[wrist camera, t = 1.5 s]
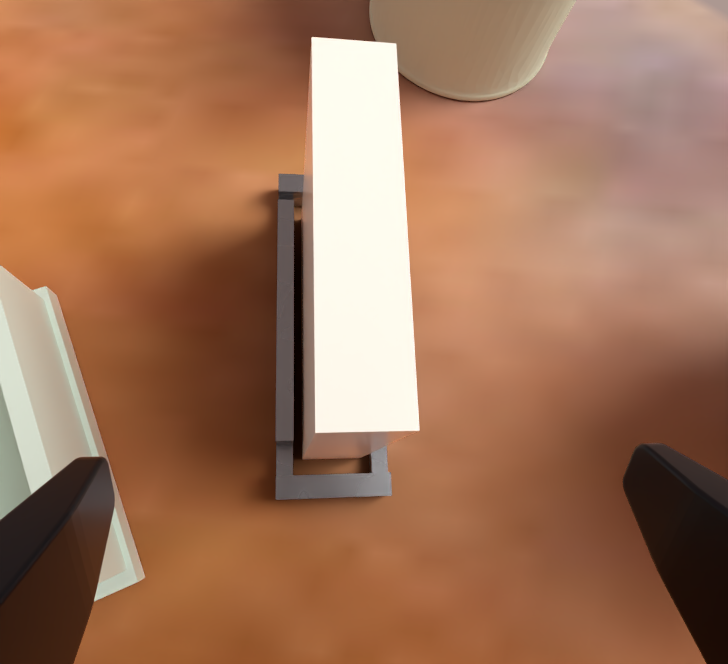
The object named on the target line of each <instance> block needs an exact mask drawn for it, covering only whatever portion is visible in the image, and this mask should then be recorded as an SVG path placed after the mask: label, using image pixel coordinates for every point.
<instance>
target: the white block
mask: <svg viewBox="0 0 728 664" xmlns="http://www.w3.org/2000/svg"><path fill="white" fill-rule="evenodd" d="M301 258H302V460H308V459H346V458H361V457H363V456H366V455H368V454H370V453H372V452H374V451H376V450H379V449H381V448H383V447H385V446H387V445H389V444H392V443H394V442H396V441H398V440H400V439H403V438H405V437H407V436H409V435H411V434H413V433H416V432H418V431H420V430H419V413H418V397H417V380H416V364H415V347H414V330H413V314H412V297H411V281H410V264H409V247H408V231H407V214H406V197H405V181H404V164H403V148H402V131H401V114H400V98H399V81H398V65H397V48H396V43H383V42H371V41H358V40H345V39H332V38H319V37H312V39H311V57H310V75H309V93H308V110H307V128H306V146H305V164H304V182H303V200H302V218H301Z"/></svg>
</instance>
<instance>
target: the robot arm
mask: <svg viewBox="0 0 728 664" xmlns="http://www.w3.org/2000/svg"><path fill="white" fill-rule="evenodd" d="M623 488H624V491H625V494H626V497H627V499H628V501H629V504H630V506H631V509H632V511H633V514H634V516H635V518H636V521H637V523H638V526H639V528H640V530H641V533H642V535H643V538H644V540H645V543H646V545H647V547H648V550H649V552H650V555H651V557H652V559H653V562H654V564H655V566H656V568H657V570H658V572H659V574H660V576H661V578H662V580H663V582H664V584H665V586H666V588H667V590H668V592H669V594H670V596H671V598H672V599H673V601H674V603H675V605H676V607H677V609H678V611H679V613H680V615H681V616H682V618H683V620H684V622H685V624H686V626H687V628H688V630H689V632H690V633H691V635H692V637H693V639H694V641H695V643H696V645H697V647H698V648H699V650H700V652H701V654H702V656H703V658H704V660H705V662H706V664H728V480H727V479H726V478H724V477H722V476H720V475H718V474H717V473H715V472H713V471H711V470H710V469H708V468H706V467H704V466H702V465H701V464H699V463H697V462H695V461H693V460H692V459H690V458H688V457H686V456H685V455H683V454H681V453H679V452H677V451H676V450H674V449H672V448H670V447H668V446H667V445H665V444H662V443H642V444H639V445H638V446H637V447H636V448H635V449H634V452H633V454H632V457H631V459H630V462H629V464H628V467H627V469H626V471H625V474H624V477H623ZM114 506H115V494H114V489H113V484H112V479H111V474H110V469H109V464H108V462H107V460H106V458H104V457H101V456H96V457H78V458H76V459H74V460H73V461H72V462H71V463H69V464H68V465H67V466H66V467H64V468H63V469H62V470H61V471H59V472H58V473H57V474H56V475H55V476H53V477H52V478H51V479H50V480H48V481H47V482H46V483H45V484H43V485H42V486H41V487H40V488H39V489H37V490H36V491H35V492H34V493H32V494H31V495H30V496H29V497H28V498H26V499H25V500H24V501H23V502H21V503H20V504H19V505H18V506H16V507H15V508H14V509H13V510H12V511H10V512H9V513H8V514H7V515H5V516H4V517H3V518H2V519H0V664H74V661H75V658H76V655H77V652H78V649H79V646H80V643H81V640H82V637H83V634H84V631H85V628H86V625H87V622H88V619H89V616H90V613H91V610H92V606H93V603H94V599H95V595H96V590H97V586H98V582H99V577H100V572H101V568H102V563H103V558H104V554H105V549H106V544H107V540H108V535H109V530H110V526H111V521H112V517H113V512H114Z"/></svg>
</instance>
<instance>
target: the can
mask: <svg viewBox="0 0 728 664" xmlns="http://www.w3.org/2000/svg"><path fill="white" fill-rule="evenodd" d="M575 2H576V0H370V5H369V17H370V24H371V29H372V32H373V35H374V38H375V40H376V42H383V43H396V48H397V65H398V72H400V73H401V74H402V75H403V76H405V77H406V78H407V79H408V80H410V81H411V82H413V83H415V84H416V85H418V86H420V87H422V88H424V89H425V90H427V91H430V92H432V93H435V94H437V95H441V96H444V97H447V98H452V99H456V100H464V101H484V100H492V99H497V98H501V97H504V96H506V95H509V94H511V93H513V92H515V91H517V90H519V89H520V88H522V87H523V86H525V85H526V84H527V83H528V82H529V81H531V80H532V79H533V78H534V77H535V75H536V74H537V73H538V72H539V70H540V69H541V67H542V65H543V63H544V61H545V59H546V56H547V53H548V50H549V48H550V46H551V44H552V42H553V40H554V38H555V36H556V35H557V33H558V31H559V29H560V28H561V26H562V24H563V23H564V21H565V19H566V17H567V16H568V14H569V12H570V10H571V9H572V7H573V5H574V4H575Z"/></svg>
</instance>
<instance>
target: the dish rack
mask: <svg viewBox="0 0 728 664" xmlns="http://www.w3.org/2000/svg"><path fill="white" fill-rule="evenodd" d="M96 456H101V457H104V458H106V460H107V462H108V464H109V469H110V474H111V479H112V484H113V489H114V494H115V506H114V512H113V517H112V521H111V526H110V530H109V535H108V540H107V544H106V549H105V554H104V558H103V563H102V568H101V572H100V577H99V582H98V586H97V590H96V595H95V599H94V601H96V600H99V599H101V598H103V597H105V596H108V595H110V594H112V593H114V592H117V591H119V590H121V589H123V588H126V587H128V586H130V585H132V584H135V583H137V582H139V581H140V580H142V579H144V578H145V575H144V571H143V568H142V565H141V562H140V559H139V556H138V552H137V549H136V546H135V543H134V540H133V536H132V533H131V530H130V527H129V524H128V521H127V517H126V514H125V511H124V508H123V505H122V501H121V498H120V495H119V492H118V489H117V486H116V482H115V479H114V476H113V473H112V470H111V466H110V463H109V460H108V457H107V454H106V451H105V447H104V444H103V441H102V438H101V435H100V431H99V428H98V425H97V422H96V419H95V415H94V412H93V409H92V406H91V403H90V400H89V396H88V393H87V390H86V387H85V384H84V380H83V377H82V374H81V371H80V368H79V365H78V361H77V358H76V355H75V352H74V349H73V345H72V342H71V339H70V336H69V333H68V330H67V326H66V323H65V320H64V317H63V314H62V310H61V307H60V304H59V301H58V298H57V295H56V294H55V293H54V292H52V291H51V290H50V289H49V288H48V287H47V286H45V287H41V288H38V289H35V290H31V289H30V288H28V287H27V286H26V285H25V284H23V283H22V282H21V281H20V280H18V279H17V278H16V277H15V276H13V275H12V274H11V273H10V272H8V271H7V270H6V269H4V268H3V267H2V266H1V265H0V519H2V518H3V517H4V516H5V515H7V514H8V513H9V512H10V511H12V510H13V509H14V508H15V507H16V506H18V505H19V504H20V503H21V502H23V501H24V500H25V499H26V498H28V497H29V496H30V495H31V494H32V493H34V492H35V491H36V490H37V489H39V488H40V487H41V486H42V485H43V484H45V483H46V482H47V481H48V480H50V479H51V478H52V477H53V476H55V475H56V474H57V473H58V472H59V471H61V470H62V469H63V468H64V467H66V466H67V465H68V464H69V463H71V462H72V461H73V460H74V459H76V458H78V457H96Z"/></svg>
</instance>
